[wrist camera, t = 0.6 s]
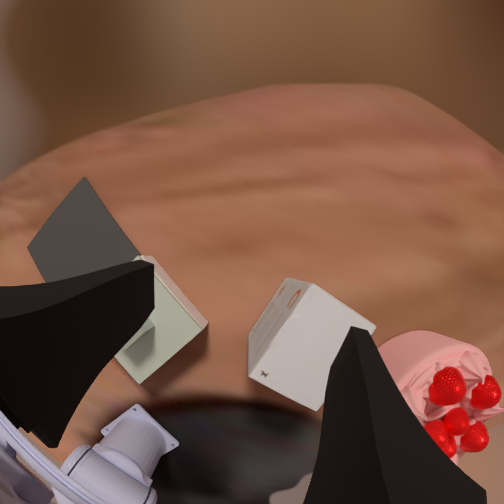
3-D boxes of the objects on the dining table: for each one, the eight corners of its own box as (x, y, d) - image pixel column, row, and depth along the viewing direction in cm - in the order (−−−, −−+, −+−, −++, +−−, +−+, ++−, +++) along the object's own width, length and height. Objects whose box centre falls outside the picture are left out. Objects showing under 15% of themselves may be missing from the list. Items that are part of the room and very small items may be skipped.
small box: (292, 362, 31) (316, 415, 18) (246, 334, 31) (244, 377, 18) (331, 304, 32) (379, 326, 19) (286, 275, 32) (310, 280, 19)
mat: (75, 325, 31) (73, 326, 31) (28, 247, 32) (27, 247, 31) (141, 255, 32) (140, 255, 31) (85, 177, 32) (84, 176, 32)
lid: (144, 379, 28) (128, 395, 24) (89, 313, 29) (66, 319, 24) (204, 326, 29) (196, 338, 24) (143, 256, 29) (124, 254, 24)
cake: (467, 385, 31) (524, 414, 17) (374, 471, 30) (409, 526, 16) (422, 298, 32) (498, 311, 18) (306, 402, 31) (335, 472, 17)
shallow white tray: (151, 371, 31) (141, 381, 28) (100, 309, 31) (86, 313, 28) (208, 322, 31) (203, 328, 28) (152, 256, 32) (141, 255, 28)
